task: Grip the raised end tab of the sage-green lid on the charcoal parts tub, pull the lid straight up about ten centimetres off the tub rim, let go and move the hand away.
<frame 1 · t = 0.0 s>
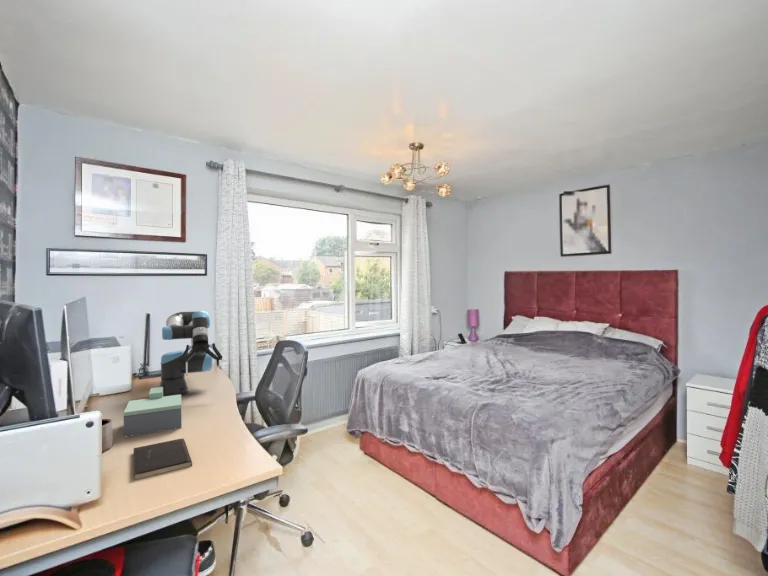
hand: (201, 373, 191), 15 cm above the table, tool tilted 35°, fingers open, 13 cm apart
tub: (154, 425, 160), on the table
planter: (93, 450, 135), on the table
lid: (155, 400, 164), point 10 cm above the table, slide at 0.0 cm
hardcover book: (161, 461, 127), on the table
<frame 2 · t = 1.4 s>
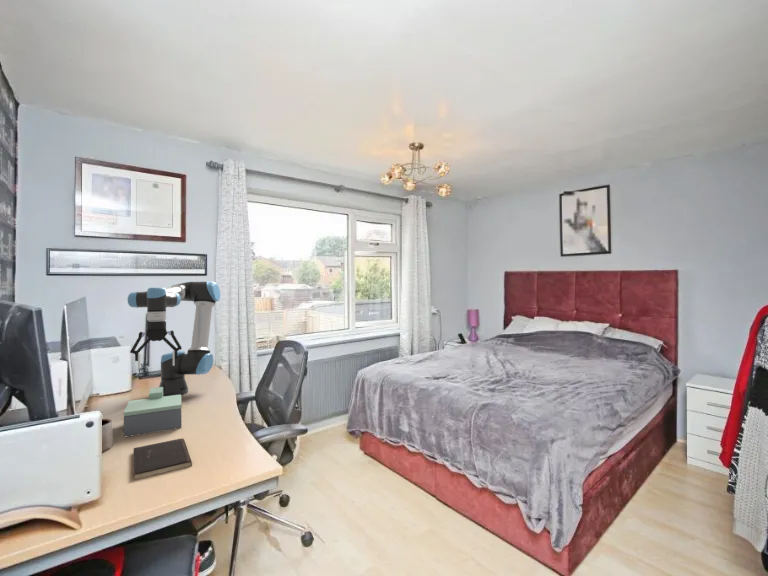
hand: (156, 366, 172), 23 cm above the table, tool pointing down, fingers open, 13 cm apart
nothing on the table moved.
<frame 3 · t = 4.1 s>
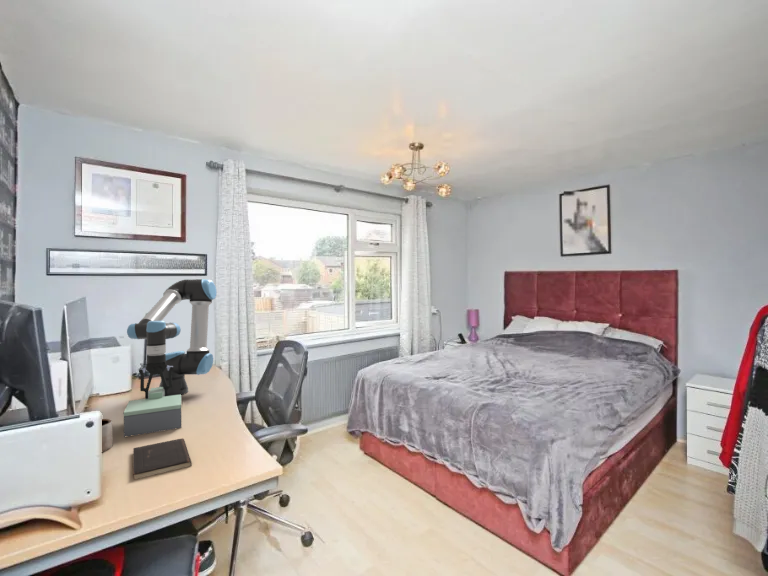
hand: (156, 404, 172), 5 cm above the table, tool pointing down, fingers closed on lid, 5 cm apart
lid: (155, 400, 164), point 10 cm above the table, slide at 0.0 cm, touching gripper
everything else where it was.
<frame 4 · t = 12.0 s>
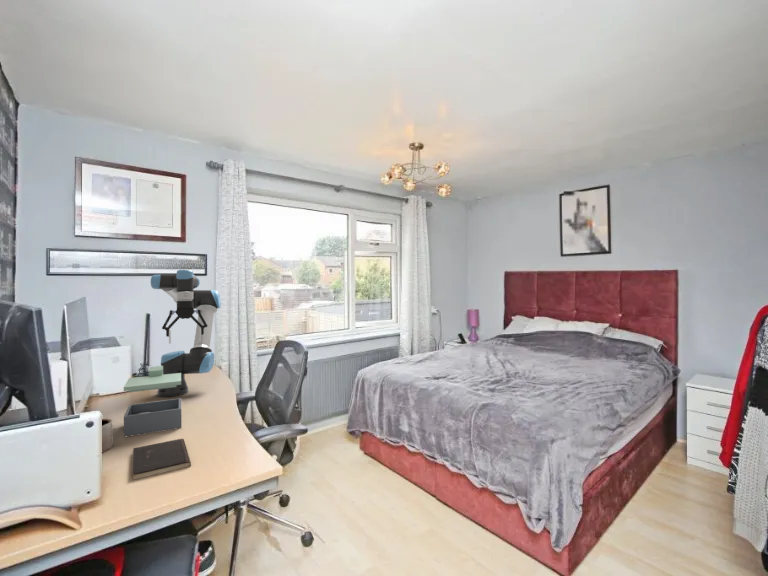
hand: (185, 342, 188), 32 cm above the table, tool pointing down, fingers open, 13 cm apart
lid: (155, 377, 164), point 20 cm above the table, slide at 10.0 cm
everything else where it was.
at the end: lid slide at 10.0 cm; the gripper is holding nothing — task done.
